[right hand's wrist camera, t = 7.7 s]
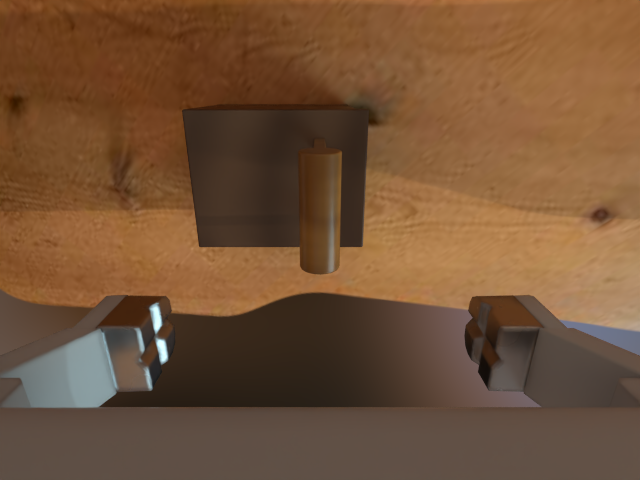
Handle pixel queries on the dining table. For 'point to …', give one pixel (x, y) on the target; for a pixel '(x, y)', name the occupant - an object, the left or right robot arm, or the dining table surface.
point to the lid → (279, 179)
